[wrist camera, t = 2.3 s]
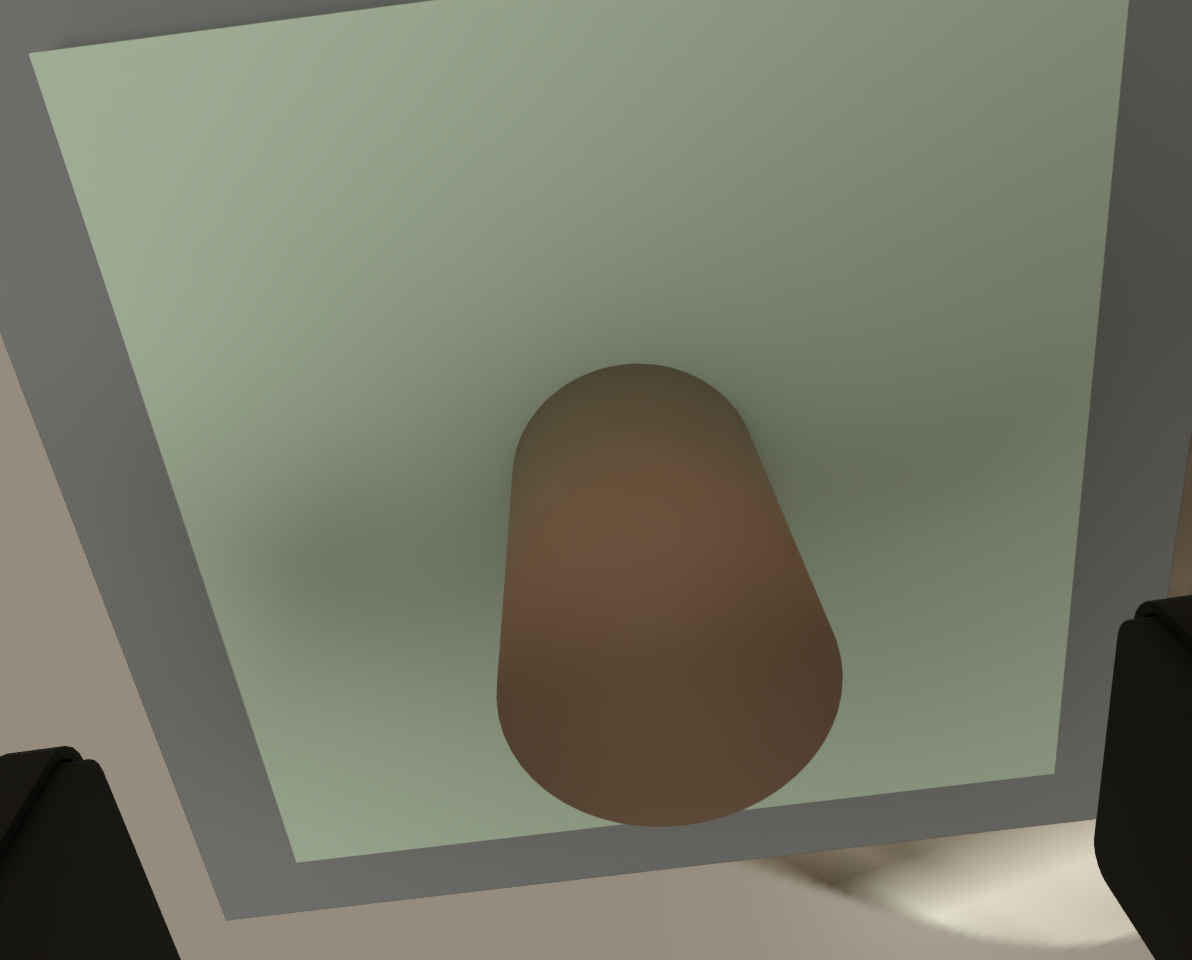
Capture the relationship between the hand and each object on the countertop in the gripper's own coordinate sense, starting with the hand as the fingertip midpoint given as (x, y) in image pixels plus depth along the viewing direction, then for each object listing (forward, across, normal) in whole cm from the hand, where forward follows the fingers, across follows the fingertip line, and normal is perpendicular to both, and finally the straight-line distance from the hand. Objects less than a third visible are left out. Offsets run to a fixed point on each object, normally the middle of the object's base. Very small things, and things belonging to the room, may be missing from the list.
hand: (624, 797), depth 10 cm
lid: (+7, -1, 0) cm, 7 cm away
